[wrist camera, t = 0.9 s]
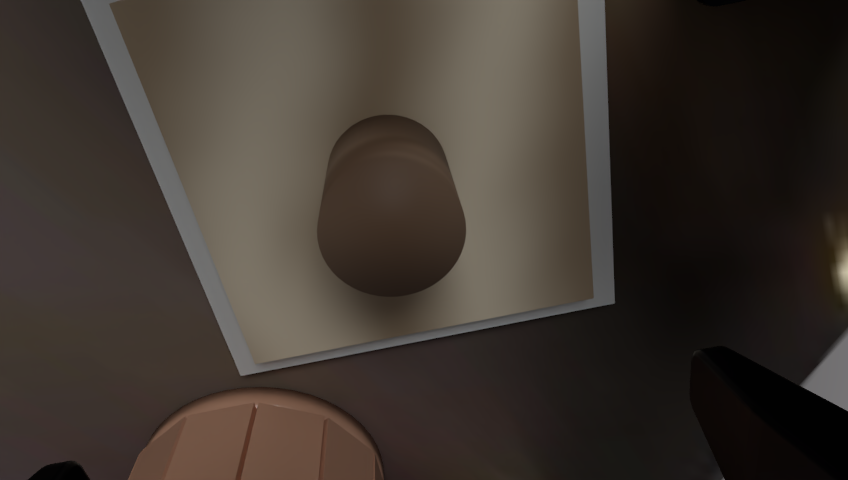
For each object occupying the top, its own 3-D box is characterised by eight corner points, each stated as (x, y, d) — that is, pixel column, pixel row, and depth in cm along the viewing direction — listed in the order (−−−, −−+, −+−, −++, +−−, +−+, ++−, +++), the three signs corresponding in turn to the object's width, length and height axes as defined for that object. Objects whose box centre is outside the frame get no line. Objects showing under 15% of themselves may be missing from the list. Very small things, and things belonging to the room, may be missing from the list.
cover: (563, -91, 16) (634, -96, 12) (586, 285, 21) (639, 375, 17) (120, 0, 16) (30, 27, 12) (258, 349, 22) (231, 453, 17)
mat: (592, -141, 16) (599, -143, 15) (609, 294, 22) (614, 303, 22) (76, -35, 16) (66, -34, 16) (243, 365, 23) (240, 375, 22)
